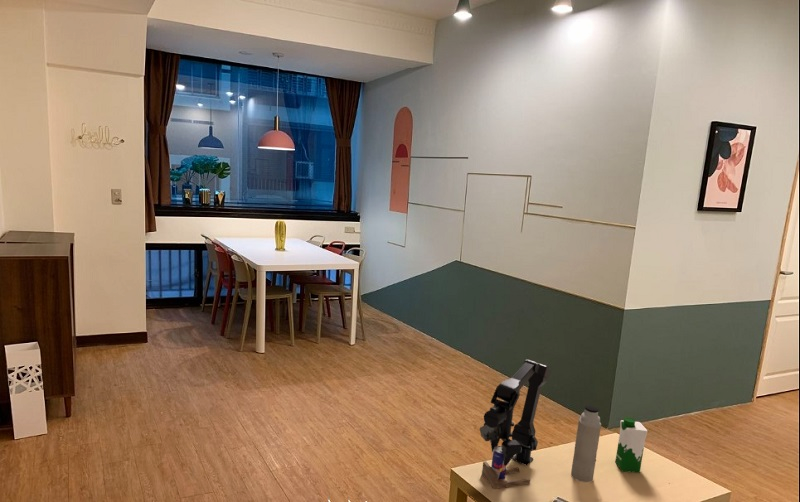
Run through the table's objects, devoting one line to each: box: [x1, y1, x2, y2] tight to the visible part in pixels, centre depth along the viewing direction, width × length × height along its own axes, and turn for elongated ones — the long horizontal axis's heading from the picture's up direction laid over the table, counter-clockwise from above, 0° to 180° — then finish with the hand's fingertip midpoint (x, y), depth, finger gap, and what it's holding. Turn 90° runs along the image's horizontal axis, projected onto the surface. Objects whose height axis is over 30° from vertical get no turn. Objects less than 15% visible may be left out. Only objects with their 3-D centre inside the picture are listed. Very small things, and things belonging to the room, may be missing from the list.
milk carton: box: [614, 417, 648, 474], centre depth 211 cm, size 9×9×20 cm
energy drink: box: [490, 445, 508, 479], centre depth 195 cm, size 5×5×12 cm
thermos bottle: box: [570, 404, 602, 483], centre depth 201 cm, size 8×8×28 cm
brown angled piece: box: [481, 461, 531, 489], centre depth 197 cm, size 15×9×5 cm, turn 107°
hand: (499, 458), depth 194 cm, fingers open, 9 cm apart
